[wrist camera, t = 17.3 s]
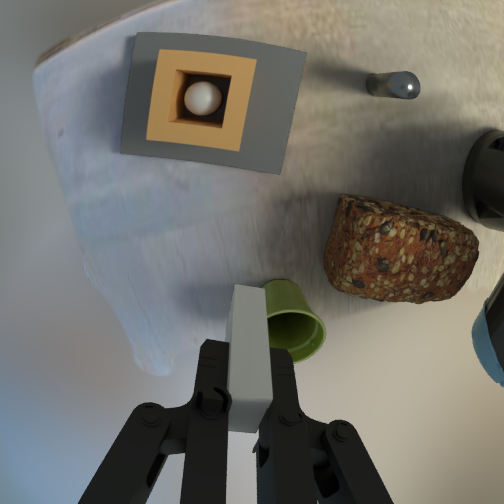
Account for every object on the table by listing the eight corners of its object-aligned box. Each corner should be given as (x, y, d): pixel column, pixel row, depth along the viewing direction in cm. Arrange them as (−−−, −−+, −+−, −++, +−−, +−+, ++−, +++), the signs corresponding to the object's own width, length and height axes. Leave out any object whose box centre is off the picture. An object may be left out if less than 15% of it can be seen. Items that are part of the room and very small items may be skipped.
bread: (450, 212, 37) (491, 245, 28) (425, 275, 42) (456, 315, 33) (337, 185, 35) (368, 217, 26) (316, 262, 40) (335, 310, 31)
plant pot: (325, 296, 43) (340, 338, 35) (275, 331, 45) (280, 375, 38) (284, 254, 39) (294, 295, 31) (231, 295, 42) (230, 340, 34)
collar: (253, 68, 27) (256, 59, 21) (239, 140, 30) (239, 151, 24) (176, 58, 26) (159, 49, 20) (165, 130, 30) (146, 139, 23)
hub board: (303, 54, 27) (321, 43, 21) (278, 171, 34) (288, 191, 27) (141, 34, 25) (115, 21, 19) (124, 151, 32) (97, 166, 25)
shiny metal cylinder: (389, 78, 28) (422, 77, 22) (384, 99, 30) (417, 103, 23) (368, 70, 28) (398, 66, 21) (363, 92, 29) (393, 93, 23)
